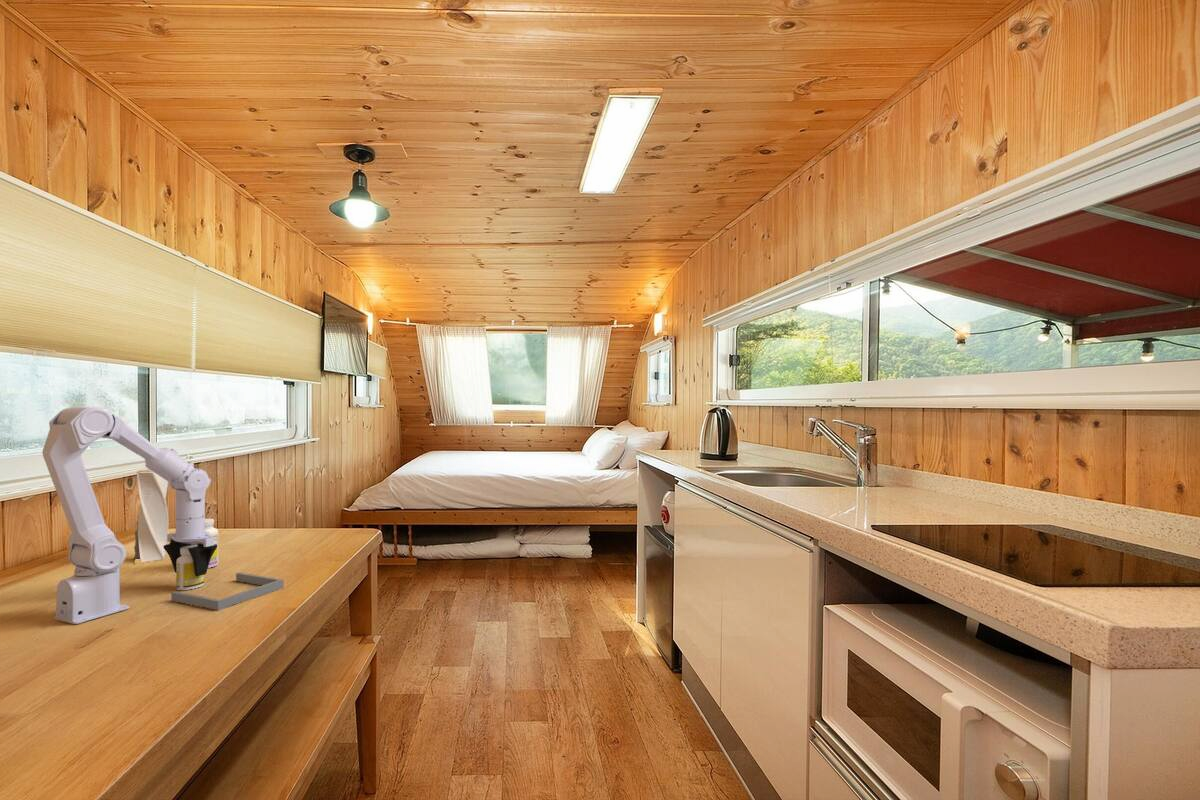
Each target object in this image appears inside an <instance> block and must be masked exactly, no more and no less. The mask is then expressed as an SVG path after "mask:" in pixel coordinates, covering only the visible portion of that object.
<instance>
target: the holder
mask: <svg viewBox="0 0 1200 800" xmlns="http://www.w3.org/2000/svg"><path fill="white" fill-rule="evenodd" d="M235 577H236V578H235V579H236V580H235V581H236V582H237V581H242V582H241V583H243V582H247V583H246V584H249V583H252V584H251V585H254V584H257V585H256V586H257V587H254V588H250V589H248V590H244V591H241V592H238V593H236V594H233V595H230V596H226V597H223V598H219V599H217V598H213V597H208V596H202V595H197V594H193V593H187V592H186V593H185V592H181V591H172V592H171V594H170V595H171V596H170V597H171V601H170V602H173V601H176V602H175V603H177V602H181V603H180V604H182V603H187V604H192V605H197V606H201V607H200V608H202V607H206V608H205V609H207V608H209V609H208V610H212V609H214V610H213V611H217V610H218V611H221V610H224V609H226V608H225V607H227V608H229V607H228V606H230V607H232V606H231V605H233V604H236V605H238V604H237V603H239V604H241V603H243V602H242V601H244V602H246V601H245V600H247V601H249V600H248V599H250V600H252V599H251V598H253V599H255V598H254V597H256V598H258V597H257V596H259V597H261V595H262V596H263V595H267V594H270V593H272V591H273V592H275V591H278V590H281V589H284V581H285V580H284V579H282V578H276V577H271V576H270V577H269V576H265V575H257V574H253V573H252V574H251V573H245V572H236V574H235ZM260 585H262V586H260ZM240 602H241V603H240ZM187 604H186V605H187ZM192 605H191V606H192ZM197 606H196V607H197ZM233 606H234V605H233ZM223 608H224V609H223ZM220 609H221V610H220Z"/></svg>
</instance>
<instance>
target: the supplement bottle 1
mask: <svg viewBox="0 0 1200 800" xmlns="http://www.w3.org/2000/svg"><path fill="white" fill-rule="evenodd" d="M196 546H197V545H190V546H185V547H182V548H180V554H181V557H179V558H178V559H177V562H176V573H175V574H176V575H175V578H176V579H175V581H176V586H175V589H176V590H178V591H189V590H190V589H192V590H195V588H196V589H199V588H201V587H203V586H204V584H205V575H201V576H195V573H194V564H193V559H192V556H191V554H190V552H189V551H188V548H192V547H196ZM198 587H199V588H198Z"/></svg>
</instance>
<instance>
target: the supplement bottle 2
mask: <svg viewBox="0 0 1200 800" xmlns="http://www.w3.org/2000/svg"><path fill="white" fill-rule="evenodd" d="M214 525H215V519H214V518H205V532H209V536H211V537H214V544H217V548H216V550H215V551H214V553H213V555H212V557H211V559H210V562H209V565H208V568H210V569H211V567H213V568H215V567H217V566H218V565H219V530H218V529H217V528H215V527H214ZM191 545H195V544H191ZM216 565H217V566H216ZM214 566H215V567H214Z"/></svg>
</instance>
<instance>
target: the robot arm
mask: <svg viewBox="0 0 1200 800" xmlns="http://www.w3.org/2000/svg"><path fill="white" fill-rule="evenodd" d="M48 424H49V431H48V433H47V437H46V440H45V442H44V445H43V449H42V451H41V452H42V457H43V460H44V462H45V465H46V467H47V470H48V473H49V475H50V479H51V481H52V484H53V486H54V489H55V491H56V494H57V497H58V500H59V502H60V504H61V505H60V506H61V507H62V510H63V513H64V516H65V517H66V521H67V523H68V526H69V528H70V531H71V534H70V535H69V537H68V543H69V551H68V561H69V562H70V563H71V564H72V566H75V568H74V571H73V575H72V576H70V577H67V578H63V579H61V580H59V582H58V584H57V587H56V606H55V607H56V610H55V612H56V615H55V616H54V620H57V621H60V622H61V621H62V622H64V623H69V624H73V625H79V624H82V623H85V622H89V621H91V620H95V619H99V618H103V617H105V616H108V615H113V614H115V613H118V612H121V611H125V610H129V609H130V607H131V606H130V605H126V604H121V599H120V598H121V594H120V593H121V565H122V564H123V563H124V562H125V559H126V557H127V549H126V547H125V545H124V544H123V543H121V542H119V541H118V539H117V538H116V535H115V533H114V532H113V531H112V530H111V529H110V528H109V527H108V526H107V524H105V520H104V517H103V515H102V512H101V508H100V506H99V503H98V500H97V497H96V494H95V492H94V490H93V487H92V484H91V481H90V479H89V476H88V473H87V470H86V467H85V465H84V462H83V459H82V454H83V453H84V452H85V451H86V450H87V449H88V447H89V446H90V445H91V444H93V443H94V442H96V441H97V440H99V439H100V438H103V439H110V440H113V441H114V442H116V443H118V444H119V445H120V446H123V447H125V448H126V449H128V450H129V451H131V452H132V453H135V454H136V455H137V456H140V457H141V458H143V459H144V461H145V462H144V463H145V467H146V468H147V469H150V470H151V471H153V472H154V473H156V474H157V475H159V476H161V477H162V478H164V479H165V480H167V481H168V484H169V485H170V487H171V489H172V490H175V532H171V533H168V534H167V545H164V549H165V550H166V553H167V554H168V556H169V558H170V561H171V564H172V565H171V566H172V567H173V571H174V573H175V574H176V562H177V559H178V558H179V557H181V554H180V548H182V547H185V546H190V545H191V544H195V545H197V546H196V547H192V548H188V551H189V552H190V554H191V556H192V559H193V564H194V573H195V576H201V575H204V576H205V575H207V572H208V570H209V569H208V565H209V562H210V559H211V557H212V555H213V553H214V551H215V550H216V548H217V544H214V537H211V536H209V532H205V519H206V491H207V489H208V488H209V487H210V485H211V481H212V479H211V478H210V477H209V475H208V473H207V471H205V470H203V469H201V468H195V467H194V465H195V464H194V463H193V462H192V461H187V460H185V459H184V458H183V457H181V456H180V455H179V454H178V453H179V451H177V449H175V448H168V447H162V448H161V447H160V448H158V447H157V446H156V445H155V444H153V443H152V442H150V440H148V439H146V438H145V437H144V436H143V435H142V434H140V433H139V432H138V431H137V430H135V429H134V428H133V427H131V425H128V424H127V423H126V422H125V421H124V420H123V419H122V418H121V417H120V416H118V415H115V414H112V413H111V412H110V411H109V410H107V409H105V408H103V407H100V406H91V407H90V406H89V407H81V406H68V407H66V408H63V409H62V410H60V411H59V412H58V413H56V414H55V416H53V418H51V420H50V421H49V422H48Z"/></svg>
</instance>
